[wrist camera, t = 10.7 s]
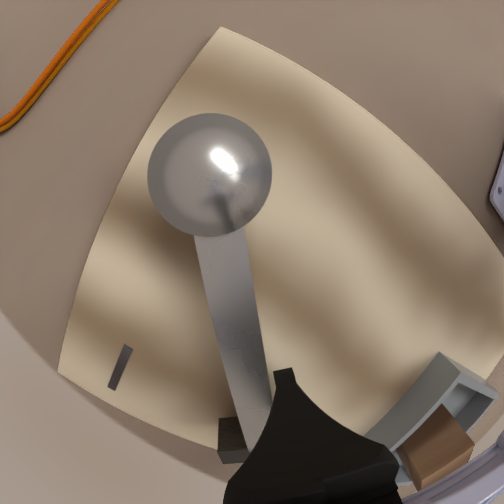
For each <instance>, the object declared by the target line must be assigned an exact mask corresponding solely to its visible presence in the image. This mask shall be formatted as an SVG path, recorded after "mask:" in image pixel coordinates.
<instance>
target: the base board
mask: <svg viewBox="0 0 504 504" xmlns="http://www.w3.org/2000/svg"><path fill="white" fill-rule="evenodd" d="M204 113H218V114H224V115H228V116H232V117H234V118H236V119H239V120H241V121H242V122H244V123H246V124H247V125H248V126H250V127H251V128H252V129H253V130H254V131H255V132H256V133H257V134H258V135H259V137H260V138H261V139H262V141H263V142H264V144H265V146H266V148H267V150H268V153H269V156H270V160H271V164H272V183H271V188H270V191H269V195H268V197H267V199H266V202H265V204H264V205H263V207H262V208H261V210H260V211H259V213H258V214H257V215H256V216H255V217H254V218H253V219H252V220H251V221H250V222H249V223H247V224H246V225H245V226H244V231H245V238H246V244H247V250H248V256H249V262H250V268H251V274H252V280H253V286H254V292H255V298H256V305H257V311H258V317H259V323H260V329H261V335H262V341H263V347H264V353H265V359H266V364H267V370H268V376H269V382H270V388H271V394H272V400H273V399H274V395H275V390H276V385H275V381H274V375H273V371H276V370H281V369H285V368H290V367H292V369H293V372H294V375H295V379H296V382H297V384H298V385H299V386H300V388H301V389H302V390H303V391H304V392H305V394H306V395H307V396H308V397H309V398H310V399H311V400H312V401H313V402H314V403H315V404H316V405H317V406H318V407H319V408H320V409H322V410H323V411H324V412H325V413H326V414H328V415H329V416H330V417H331V418H333V419H334V420H336V421H337V422H339V423H340V424H342V425H343V426H345V427H347V428H348V429H350V430H352V431H354V432H355V433H357V434H359V435H361V436H364V435H365V434H366V433H367V432H368V431H369V430H370V429H371V428H372V427H373V426H374V425H376V424H377V423H378V422H379V421H380V420H381V419H382V418H383V417H384V416H385V415H386V414H387V413H388V411H389V410H390V409H391V408H392V407H393V406H394V405H395V404H396V403H397V402H398V401H399V400H400V399H401V398H402V396H403V395H404V394H405V393H406V392H407V391H408V390H409V388H410V387H411V386H412V385H413V384H414V383H415V381H416V380H417V379H418V378H419V377H420V375H421V374H422V373H423V372H424V370H425V369H426V368H427V367H428V365H429V364H430V363H431V361H432V360H433V359H434V357H435V356H436V355H437V353H438V352H439V351H440V352H441V353H443V354H444V355H446V356H448V357H449V358H451V359H453V360H454V361H456V362H458V363H459V364H461V365H463V366H464V367H466V368H468V369H469V370H471V371H472V372H474V373H476V374H477V375H479V376H481V377H482V378H484V379H485V380H486V379H487V378H488V376H489V375H490V374H491V372H492V371H493V369H494V368H495V366H496V365H497V363H498V362H499V360H500V359H501V357H502V356H503V354H504V257H503V255H502V254H501V252H500V251H499V249H498V248H497V247H496V245H495V244H494V242H493V241H492V239H491V238H490V237H489V235H488V234H487V232H486V231H485V230H484V228H483V227H482V226H481V224H480V223H479V222H478V221H477V219H476V218H475V217H474V215H473V214H472V213H471V212H470V211H469V209H468V208H467V207H466V206H465V204H464V203H463V202H462V201H461V200H460V199H459V197H458V196H457V195H456V194H455V193H454V192H453V191H452V189H451V188H450V187H449V186H448V185H447V184H446V183H445V182H444V181H443V180H442V178H441V177H440V176H439V175H438V174H437V173H436V172H435V171H434V170H433V169H432V168H431V167H430V166H429V165H428V164H427V163H426V162H425V161H424V160H423V159H422V158H421V157H420V156H419V155H418V154H417V153H416V152H415V151H413V150H412V149H411V148H410V147H409V146H408V145H407V144H406V143H405V142H404V141H403V140H401V139H400V138H399V137H398V136H397V135H396V134H395V133H393V132H392V131H391V130H390V129H389V128H388V127H386V126H385V125H384V124H383V123H382V122H380V121H379V120H378V119H377V118H375V117H374V116H373V115H372V114H370V113H369V112H368V111H366V110H365V109H364V108H363V107H361V106H360V105H359V104H357V103H356V102H354V101H353V100H352V99H350V98H349V97H348V96H346V95H345V94H343V93H342V92H340V91H339V90H338V89H336V88H335V87H333V86H332V85H330V84H329V83H327V82H326V81H324V80H323V79H321V78H319V77H318V76H316V75H315V74H313V73H311V72H310V71H308V70H306V69H305V68H303V67H301V66H300V65H298V64H296V63H295V62H293V61H291V60H289V59H288V58H286V57H284V56H282V55H280V54H278V53H276V52H275V51H273V50H271V49H269V48H267V47H265V46H263V45H261V44H259V43H257V42H255V41H253V40H250V39H248V38H246V37H244V36H242V35H240V34H237V33H235V32H233V31H230V30H228V29H226V28H223V27H220V28H219V29H218V31H217V32H216V33H215V34H214V35H213V37H212V38H211V39H210V40H209V41H208V43H207V44H206V45H205V46H204V48H203V49H202V50H201V51H200V53H199V54H198V55H197V57H196V58H195V59H194V61H193V62H192V63H191V65H190V66H189V67H188V69H187V70H186V71H185V73H184V74H183V76H182V77H181V78H180V80H179V81H178V83H177V84H176V86H175V87H174V89H173V90H172V92H171V93H170V95H169V96H168V98H167V99H166V101H165V102H164V104H163V105H162V107H161V108H160V110H159V112H158V113H157V115H156V116H155V118H154V120H153V121H152V123H151V125H150V126H149V128H148V130H147V131H146V133H145V135H144V137H143V138H142V140H141V142H140V144H139V146H138V147H137V149H136V151H135V153H134V155H133V157H132V159H131V160H130V162H129V164H128V166H127V168H126V170H125V172H124V174H123V176H122V178H121V180H120V182H119V184H118V186H117V188H116V191H115V193H114V195H113V197H112V199H111V201H110V204H109V206H108V208H107V210H106V213H105V215H104V217H103V220H102V222H101V225H100V227H99V230H98V232H97V235H96V237H95V240H94V242H93V245H92V248H91V250H90V253H89V256H88V259H87V261H86V264H85V267H84V270H83V273H82V276H81V279H80V282H79V285H78V289H77V292H76V295H75V299H74V302H73V306H72V309H71V313H70V317H69V321H68V324H67V329H66V333H65V337H64V341H63V346H62V351H61V356H60V361H59V366H58V372H59V373H60V374H62V375H63V376H64V377H66V378H67V379H69V380H71V381H72V382H74V383H75V384H77V385H78V386H80V387H81V388H83V389H85V390H86V391H88V392H90V393H91V394H93V395H95V396H96V397H98V398H100V399H102V400H103V401H105V402H107V403H109V404H111V405H112V406H114V407H116V408H118V409H120V410H122V411H124V412H126V413H128V414H130V415H132V416H134V417H136V418H138V419H140V420H142V421H144V422H147V423H149V424H151V425H153V426H155V427H158V428H160V429H162V430H165V431H167V432H170V433H172V434H174V435H177V436H180V437H182V438H185V439H187V440H190V441H193V442H196V443H198V444H201V445H204V446H207V447H210V448H213V449H218V424H219V418H227V417H236V416H238V415H237V412H236V408H235V405H234V402H233V398H232V395H231V391H230V387H229V384H228V380H227V377H226V373H225V369H224V365H223V362H222V358H221V354H220V350H219V346H218V342H217V338H216V334H215V330H214V326H213V322H212V318H211V314H210V309H209V305H208V301H207V296H206V292H205V287H204V283H203V278H202V274H201V269H200V264H199V259H198V255H197V250H196V245H195V240H194V235H191V234H188V233H185V232H183V231H180V230H179V229H177V228H175V227H174V226H172V225H171V224H170V223H168V222H167V221H166V220H165V219H164V218H163V217H162V216H161V214H160V213H159V212H158V210H157V209H156V207H155V205H154V204H153V202H152V199H151V196H150V193H149V189H148V183H147V170H148V163H149V160H150V156H151V154H152V151H153V149H154V147H155V145H156V144H157V142H158V140H159V139H160V138H161V137H162V135H163V134H164V133H165V132H166V131H167V130H168V129H169V128H171V127H172V126H173V125H175V124H176V123H178V122H180V121H181V120H183V119H185V118H188V117H190V116H194V115H198V114H204Z"/></svg>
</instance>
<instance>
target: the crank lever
mask: <svg viewBox="0 0 504 504" xmlns="http://www.w3.org/2000/svg"><path fill="white" fill-rule="evenodd" d="M147 183H148V189H149V193H150V196H151V199H152V202H153V204H154V205H155V207H156V209H157V210H158V212H159V213H160V214H161V216H162V217H163V218H164V219H165V220H166V221H167V222H168V223H170V224H171V225H172V226H174V227H175V228H177V229H179V230H180V231H183V232H185V233H188V234H191V235H194V240H195V245H196V250H197V255H198V259H199V264H200V269H201V274H202V278H203V283H204V287H205V292H206V296H207V301H208V305H209V309H210V314H211V318H212V322H213V326H214V330H215V334H216V338H217V342H218V346H219V350H220V354H221V358H222V362H223V365H224V369H225V373H226V377H227V380H228V384H229V387H230V391H231V395H232V398H233V402H234V405H235V408H236V412H237V415H238V416H236V417H227V418H219V424H218V449H217V452H218V454H219V457H220V459H221V461H222V463H223V464H231V463H242V462H245V460H246V459H247V457H248V456H249V454H250V453H251V451H252V450H253V448H254V447H255V445H256V443H257V441H258V439H259V437H260V435H261V434H262V431H263V429H264V427H265V425H266V422H267V419H268V417H269V414H270V410H271V407H272V404H273V400H272V394H271V388H270V382H269V376H268V370H267V364H266V359H265V353H264V347H263V341H262V335H261V329H260V323H259V317H258V311H257V305H256V298H255V292H254V286H253V280H252V274H251V268H250V262H249V256H248V250H247V244H246V238H245V231H244V226H245V225H246V224H247V223H249V222H250V221H251V220H252V219H253V218H254V217H255V216H256V215H257V214H258V213H259V211H260V210H261V208H262V207H263V205H264V204H265V202H266V199H267V197H268V195H269V191H270V188H271V183H272V164H271V160H270V156H269V153H268V150H267V148H266V146H265V144H264V142H263V141H262V139H261V138H260V137H259V135H258V134H257V133H256V132H255V131H254V130H253V129H252V128H251V127H250V126H248V125H247V124H246V123H244V122H242V121H241V120H239V119H236V118H234V117H232V116H228V115H224V114H218V113H204V114H198V115H194V116H190V117H188V118H185V119H183V120H181V121H180V122H178V123H176V124H175V125H173V126H172V127H171V128H169V129H168V130H167V131H166V132H165V133H164V134H163V135H162V137H161V138H160V139H159V140H158V142H157V144H156V145H155V147H154V149H153V151H152V154H151V156H150V160H149V163H148V170H147Z"/></svg>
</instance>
